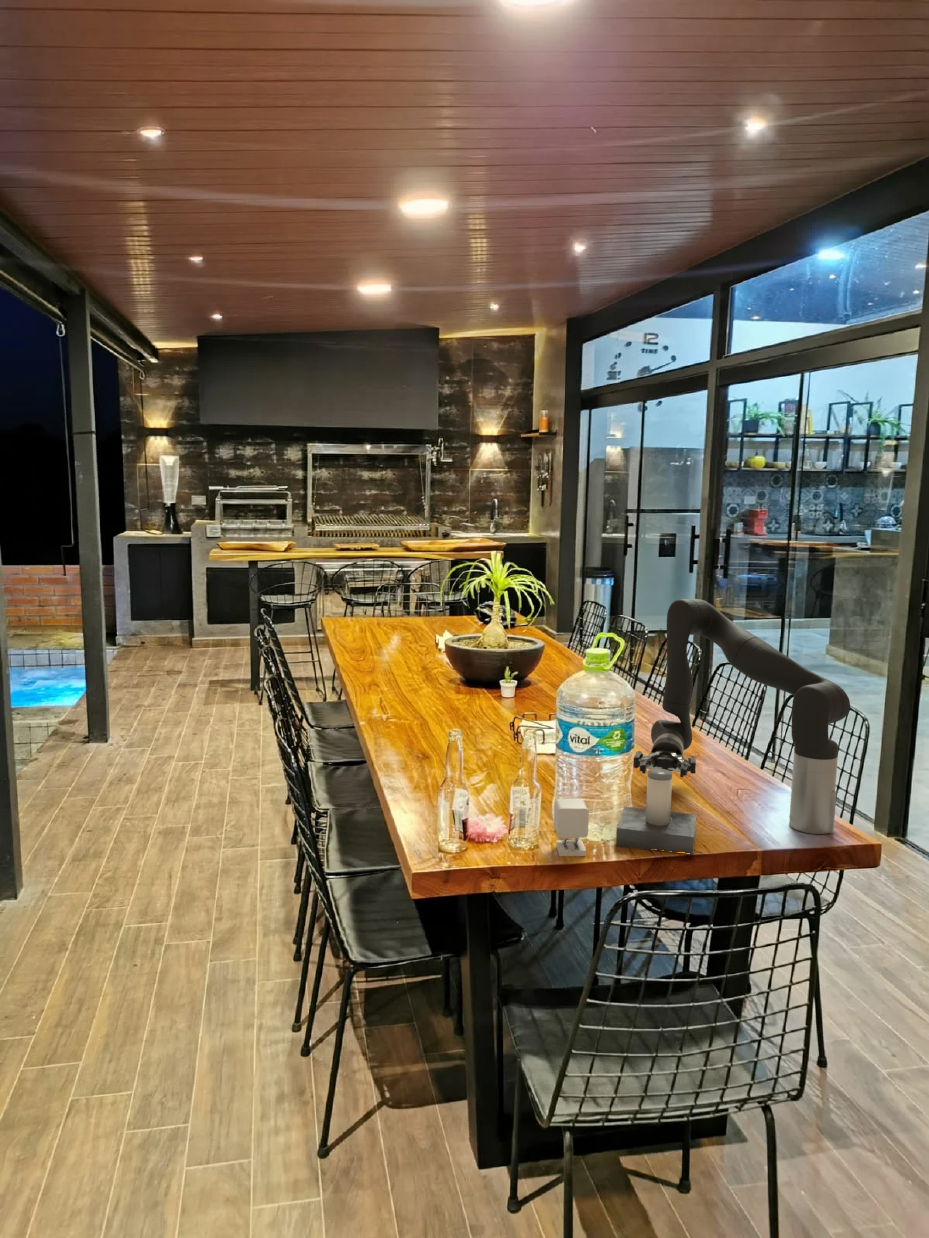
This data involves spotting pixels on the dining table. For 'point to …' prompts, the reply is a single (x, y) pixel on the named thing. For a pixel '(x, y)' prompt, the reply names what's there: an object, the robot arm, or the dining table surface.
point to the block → (656, 831)
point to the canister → (658, 796)
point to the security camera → (571, 826)
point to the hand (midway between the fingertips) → (662, 771)
